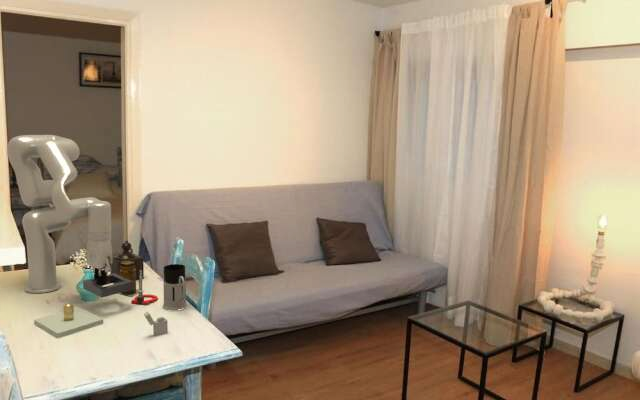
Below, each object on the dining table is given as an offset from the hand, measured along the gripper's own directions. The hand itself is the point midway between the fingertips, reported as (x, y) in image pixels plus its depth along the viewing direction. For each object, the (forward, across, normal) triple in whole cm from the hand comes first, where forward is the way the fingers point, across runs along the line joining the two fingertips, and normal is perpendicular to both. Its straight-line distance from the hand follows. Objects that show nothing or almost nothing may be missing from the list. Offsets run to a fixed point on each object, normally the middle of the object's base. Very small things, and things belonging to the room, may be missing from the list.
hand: (100, 284), depth 184 cm
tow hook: (+8, +8, +13) cm, 17 cm away
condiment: (+8, -4, +14) cm, 17 cm away
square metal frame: (0, +5, 0) cm, 5 cm away
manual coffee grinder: (+9, -17, +22) cm, 29 cm away
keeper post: (+6, +8, -16) cm, 19 cm away
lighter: (+7, +36, -2) cm, 37 cm away
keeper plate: (+8, +8, -16) cm, 19 cm away
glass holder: (+7, +24, +16) cm, 30 cm away
